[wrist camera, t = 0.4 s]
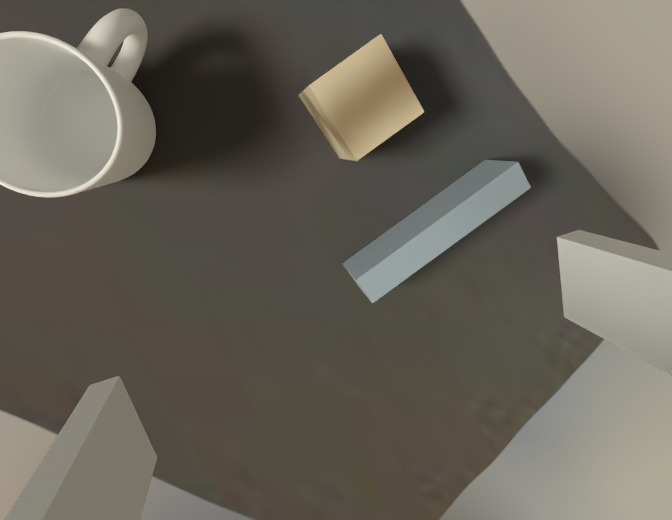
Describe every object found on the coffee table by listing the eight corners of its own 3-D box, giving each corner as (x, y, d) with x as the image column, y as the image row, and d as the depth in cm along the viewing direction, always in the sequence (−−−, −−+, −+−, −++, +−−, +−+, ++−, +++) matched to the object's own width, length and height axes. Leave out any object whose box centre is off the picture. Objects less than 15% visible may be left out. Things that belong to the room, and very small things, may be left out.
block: (298, 95, 35) (308, 85, 29) (358, 51, 35) (381, 33, 29) (339, 158, 37) (356, 160, 31) (396, 117, 37) (424, 111, 31)
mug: (103, -5, 30) (35, -76, 20) (206, 74, 33) (190, 43, 23) (15, 138, 31) (-89, 134, 22) (122, 203, 34) (72, 226, 24)
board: (342, 263, 39) (355, 280, 34) (485, 159, 39) (518, 161, 34) (357, 284, 40) (372, 303, 35) (497, 182, 40) (530, 187, 35)
